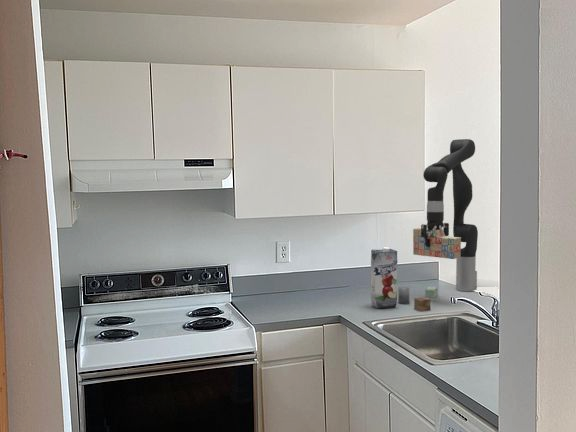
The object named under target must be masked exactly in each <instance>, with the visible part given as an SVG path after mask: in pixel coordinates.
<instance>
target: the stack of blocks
mask: <svg viewBox="0 0 576 432" xmlns="http://www.w3.org/2000/svg"><path fill="white" fill-rule="evenodd" d="M427 229H428V228H427ZM427 232H431V230H427ZM412 235H413V236H412V241H413V244H412V245H413V246H412V247H413V248H412V249H413V250H412V251H413V252H412V253H413V255H415V256H421V257H423V256H424V257H430V258H431V257H432V258H441V259H448V260H449V259H450V260H456V258H460V256H461V254H460V251H461V249H462V248H461V247H462V246H461V244H462V242H461V237H454V236H443V235H442V232H441V230H433V234H432V235H431V236H430V238H429V239H430V247H426V246H425V238H423V237H421V227H417V228H413V230H412Z"/></svg>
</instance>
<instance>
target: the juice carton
mask: <svg viewBox="0 0 576 432" xmlns="http://www.w3.org/2000/svg"><path fill="white" fill-rule="evenodd" d="M370 252H371V254H370V299H371V306H373V307H374V308H377V309H378V310H383V309H393V308H396V307H397V304H398V303H397V301H398V251H397V250H396V249H391V248H390V247H387V246H384V247H382V249H378V248H377V249H376V248H375V249H371V250H370Z"/></svg>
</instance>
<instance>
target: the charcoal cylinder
mask: <svg viewBox="0 0 576 432" xmlns="http://www.w3.org/2000/svg"><path fill="white" fill-rule="evenodd" d="M397 301H398V303H397V304H400V305H409V304H410V287H408V286H398V287H397Z"/></svg>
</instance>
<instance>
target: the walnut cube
mask: <svg viewBox="0 0 576 432" xmlns="http://www.w3.org/2000/svg"><path fill="white" fill-rule="evenodd" d="M431 299H432V298H425V296H420V297H414V299H413V300H414V301H413V302H414V303H413V309H414V310H415V311H418V312H421V313H422V312H429V311H431V308H432V305H431V304H432V303H431V301H432V300H431Z"/></svg>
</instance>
